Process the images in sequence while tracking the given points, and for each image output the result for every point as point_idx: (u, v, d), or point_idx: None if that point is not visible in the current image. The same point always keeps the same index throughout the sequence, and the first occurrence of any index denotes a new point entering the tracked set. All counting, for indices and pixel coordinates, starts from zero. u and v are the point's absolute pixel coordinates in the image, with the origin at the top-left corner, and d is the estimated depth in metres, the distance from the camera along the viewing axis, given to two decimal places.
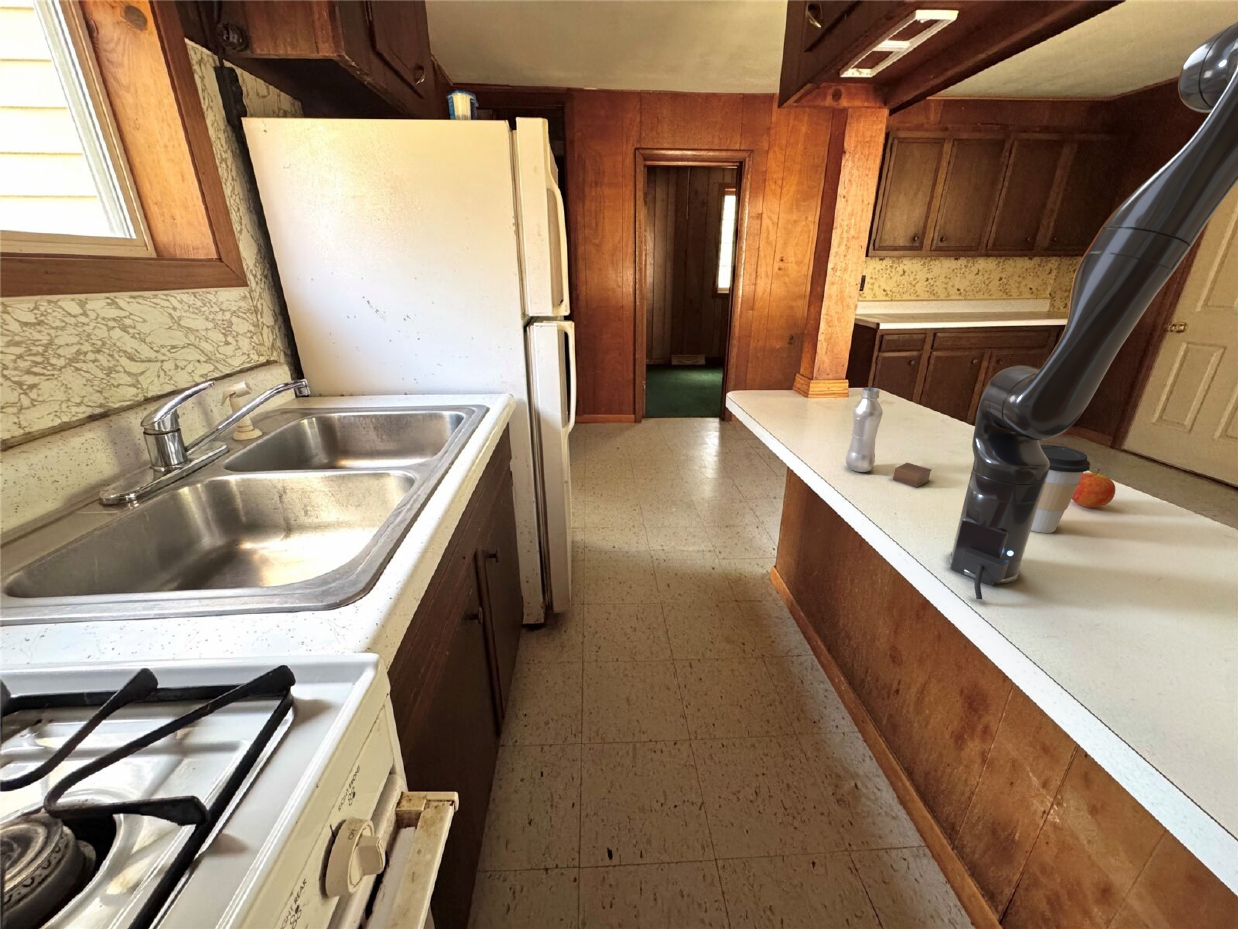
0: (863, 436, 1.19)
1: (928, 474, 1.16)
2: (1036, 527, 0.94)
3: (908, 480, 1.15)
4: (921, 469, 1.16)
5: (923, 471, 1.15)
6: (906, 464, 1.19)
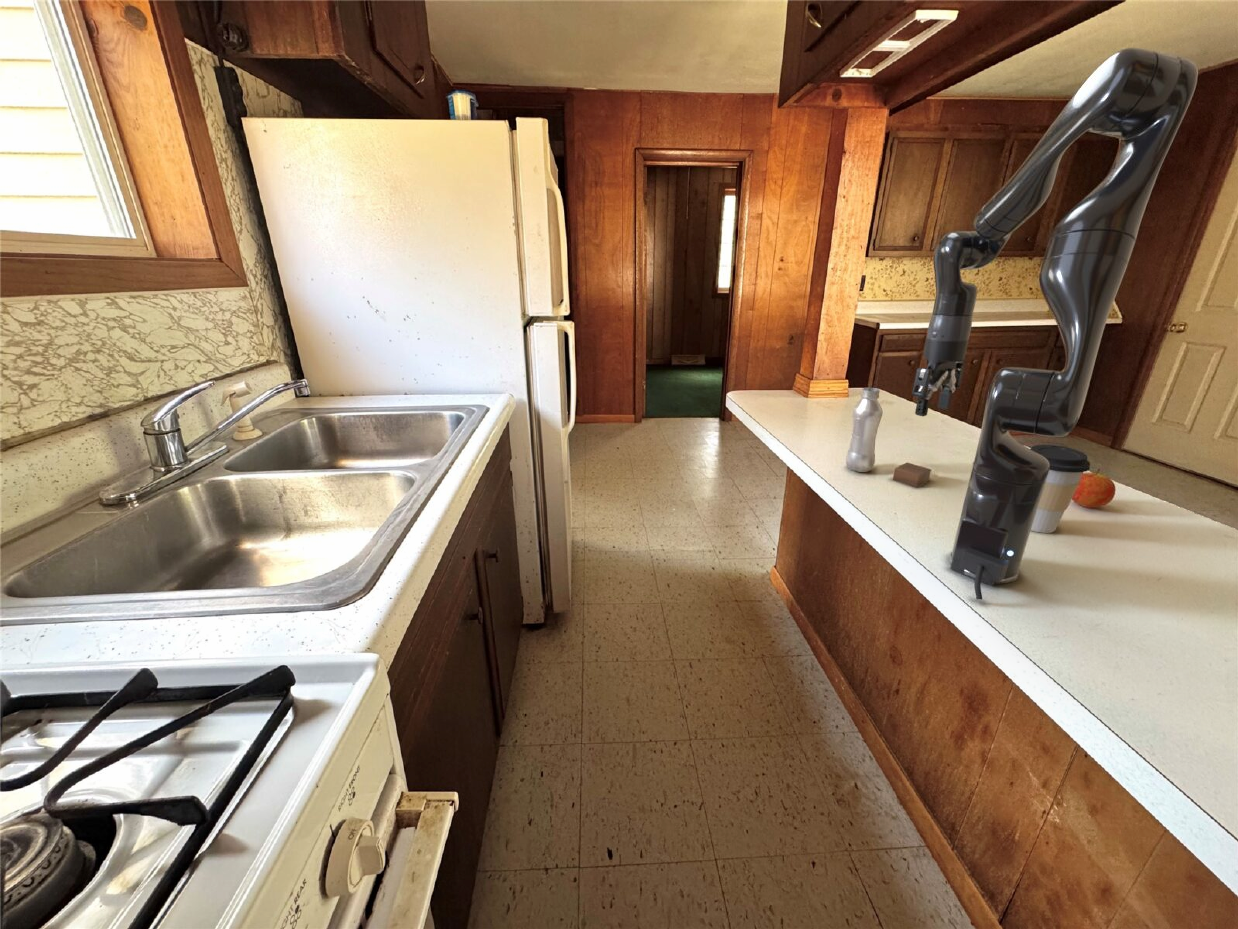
0: (863, 436, 1.19)
1: (928, 474, 1.16)
2: (1036, 527, 0.94)
3: (908, 480, 1.15)
4: (921, 469, 1.16)
5: (923, 471, 1.15)
6: (906, 464, 1.19)
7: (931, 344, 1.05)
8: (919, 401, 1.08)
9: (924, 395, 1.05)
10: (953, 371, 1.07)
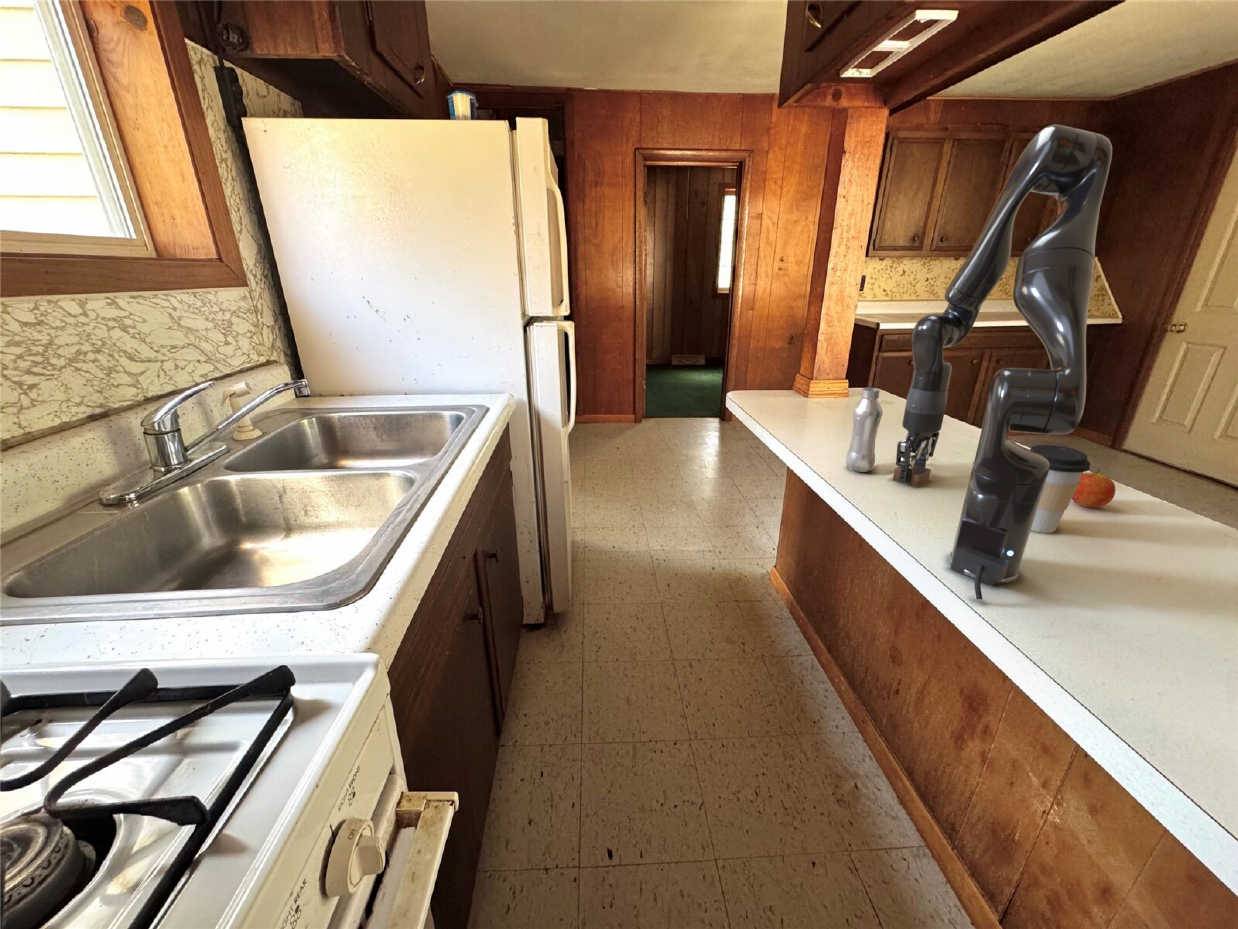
0: (863, 436, 1.19)
1: (928, 474, 1.16)
2: (1036, 527, 0.94)
3: None
4: (921, 469, 1.16)
5: (923, 471, 1.15)
6: None
7: (910, 416, 1.10)
8: (902, 470, 1.14)
9: (908, 466, 1.12)
10: (930, 439, 1.13)
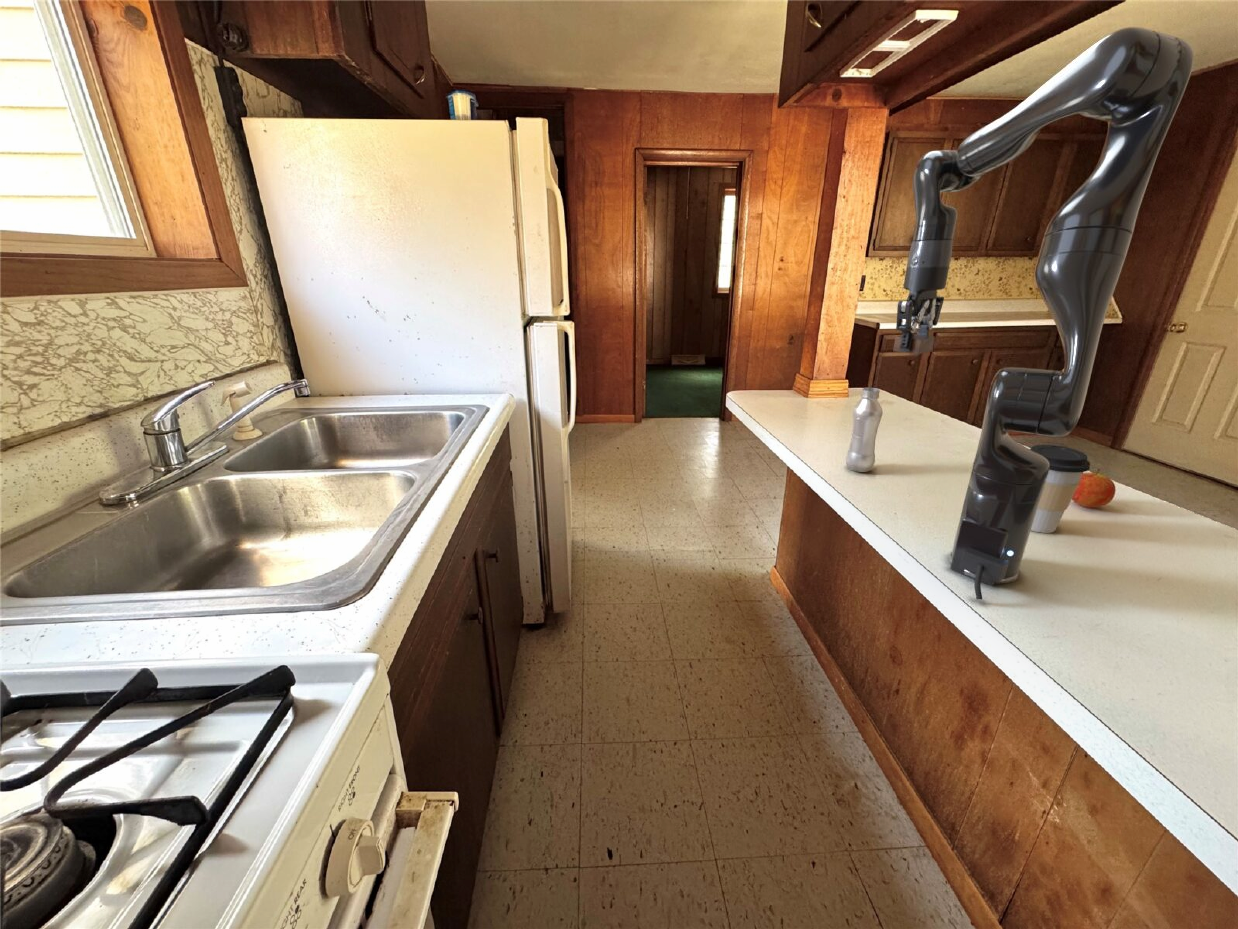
0: (863, 436, 1.19)
1: (931, 342, 1.08)
2: (1036, 527, 0.94)
3: None
4: (924, 336, 1.08)
5: (925, 337, 1.07)
6: None
7: (912, 272, 1.02)
8: (903, 335, 1.06)
9: (909, 328, 1.04)
10: (934, 301, 1.05)
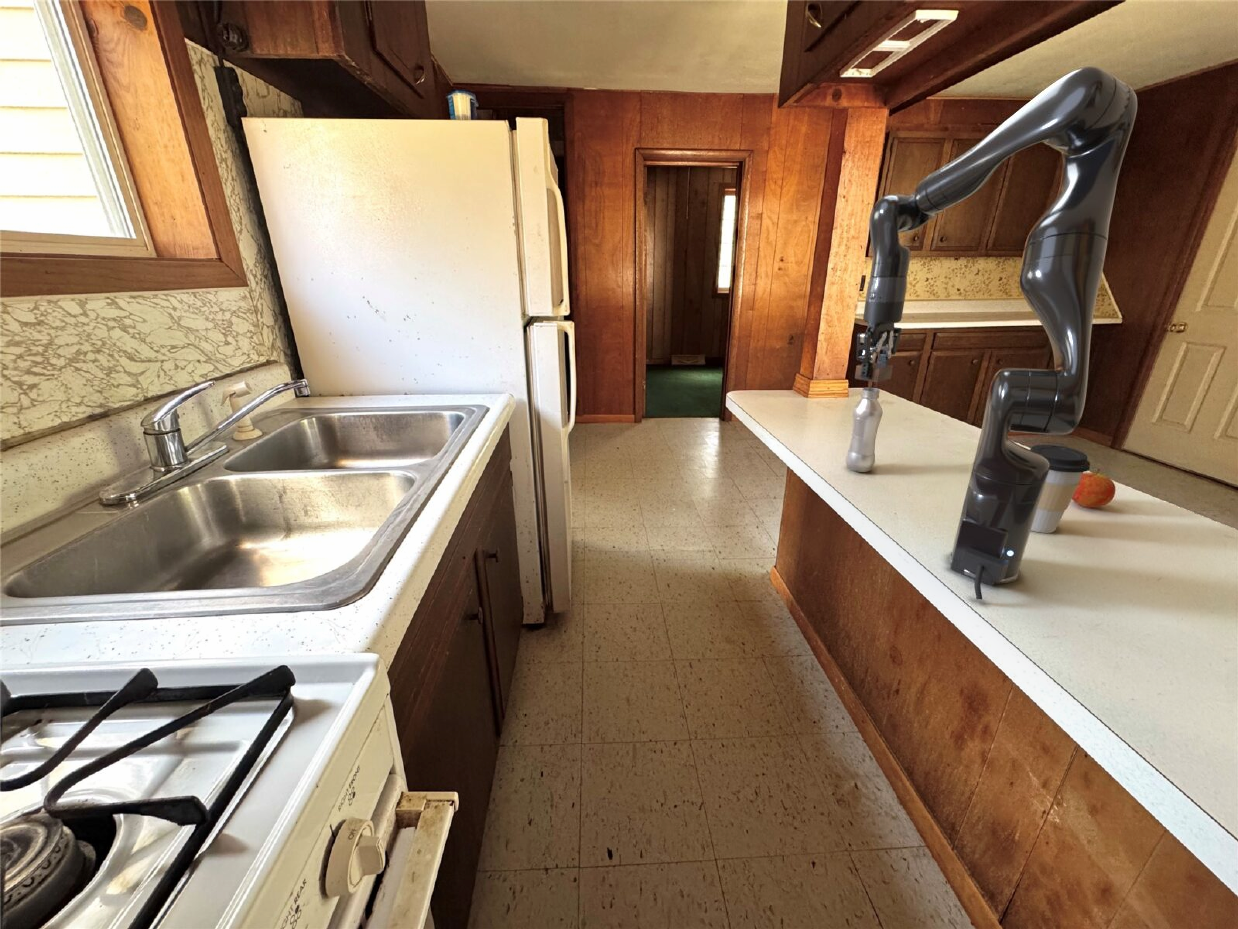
0: (863, 436, 1.19)
1: (890, 370, 1.14)
2: (1036, 527, 0.94)
3: None
4: (883, 365, 1.14)
5: (884, 366, 1.13)
6: None
7: (870, 306, 1.09)
8: (863, 365, 1.13)
9: (868, 358, 1.10)
10: (891, 333, 1.11)
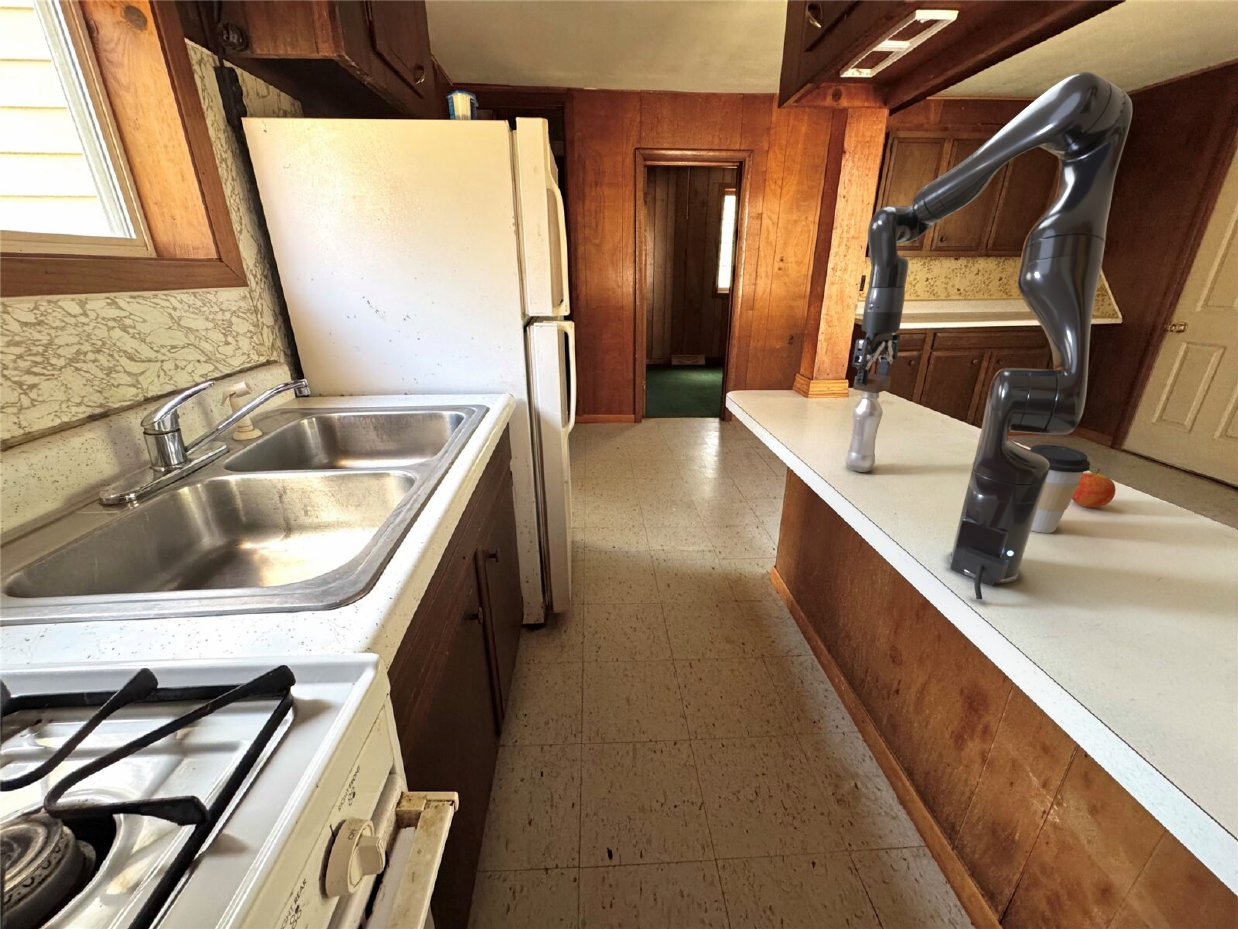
0: (863, 436, 1.19)
1: (888, 381, 1.15)
2: (1036, 527, 0.94)
3: (867, 387, 1.15)
4: (881, 376, 1.15)
5: (882, 378, 1.14)
6: None
7: (868, 316, 1.10)
8: (859, 371, 1.13)
9: (863, 365, 1.10)
10: (889, 342, 1.12)
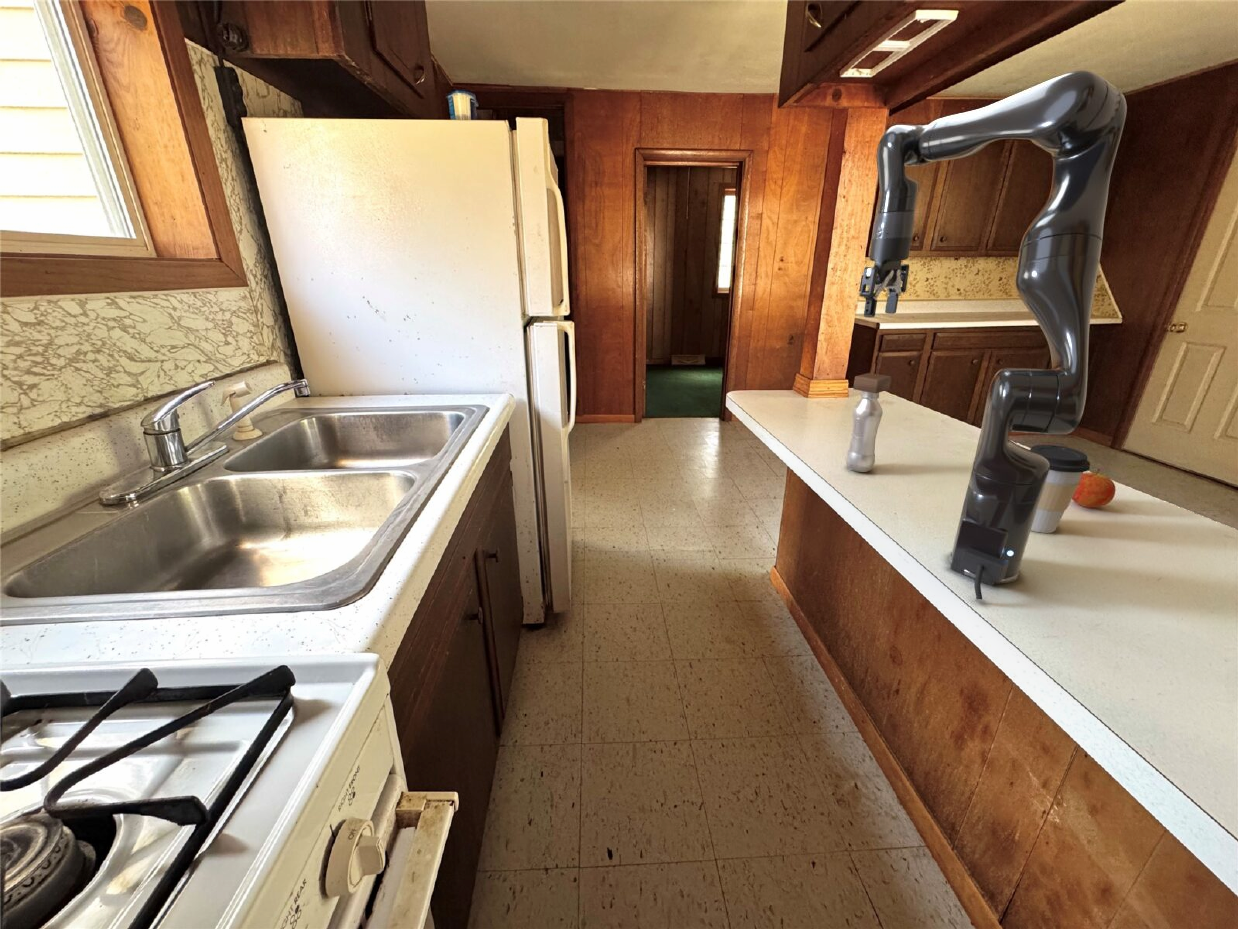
0: (863, 436, 1.19)
1: (888, 381, 1.15)
2: (1036, 527, 0.94)
3: (867, 387, 1.15)
4: (881, 376, 1.15)
5: (882, 378, 1.14)
6: (867, 374, 1.18)
7: (877, 243, 1.07)
8: (867, 302, 1.11)
9: (871, 293, 1.08)
10: (898, 271, 1.10)
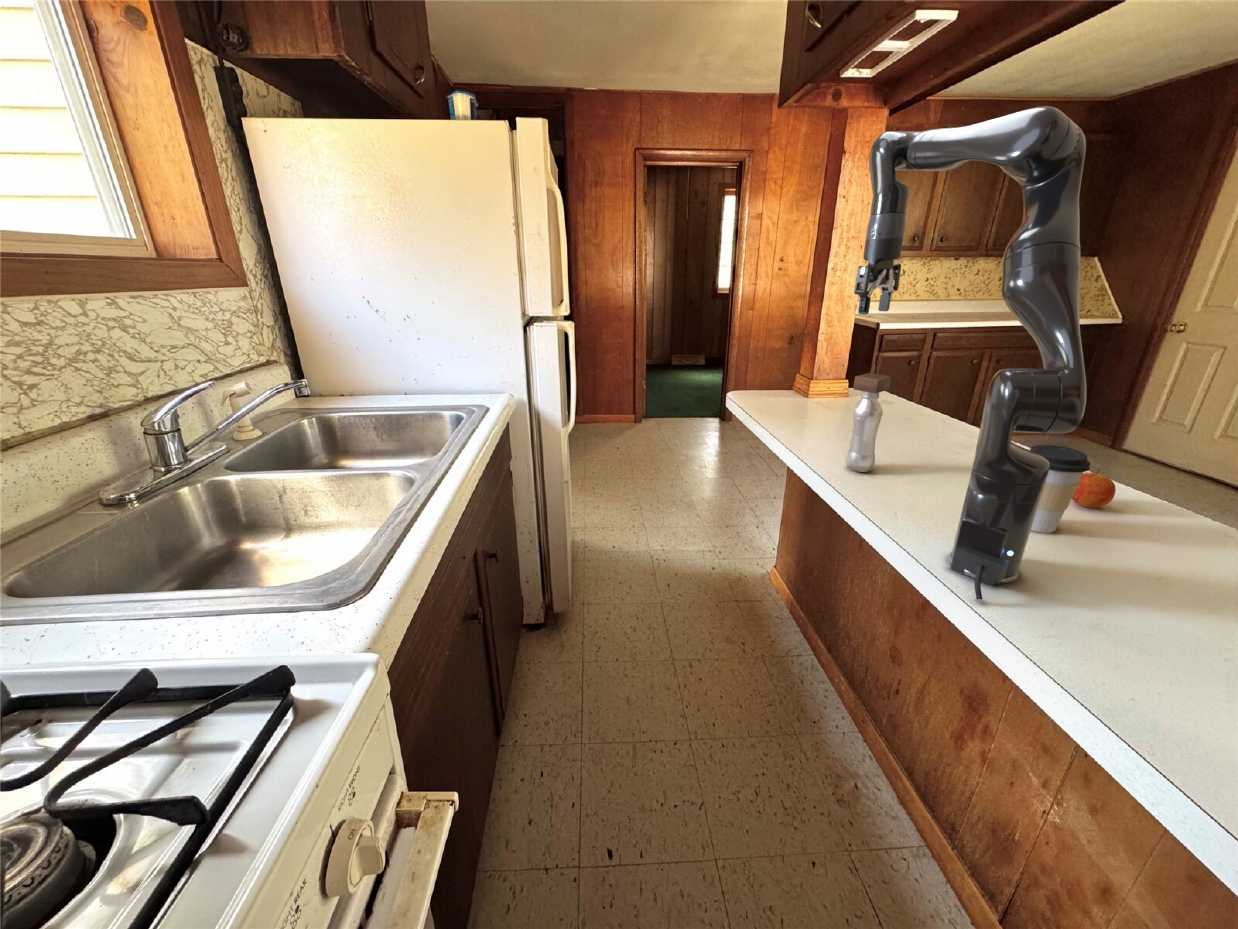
0: (863, 436, 1.19)
1: (888, 381, 1.15)
2: (1036, 527, 0.94)
3: (867, 387, 1.15)
4: (881, 376, 1.15)
5: (882, 378, 1.14)
6: (867, 374, 1.18)
7: (870, 243, 1.12)
8: (861, 299, 1.15)
9: (865, 291, 1.13)
10: (891, 270, 1.15)
